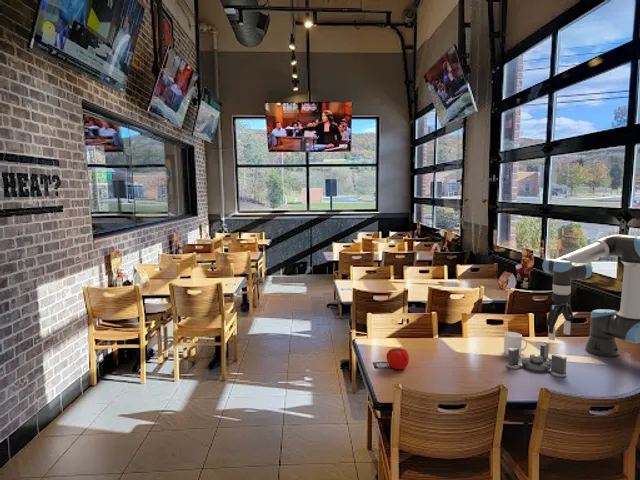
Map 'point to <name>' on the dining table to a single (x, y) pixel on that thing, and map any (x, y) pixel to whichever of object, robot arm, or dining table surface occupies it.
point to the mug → (513, 341)
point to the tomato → (397, 358)
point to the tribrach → (536, 365)
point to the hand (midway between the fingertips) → (559, 336)
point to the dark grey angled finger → (513, 356)
